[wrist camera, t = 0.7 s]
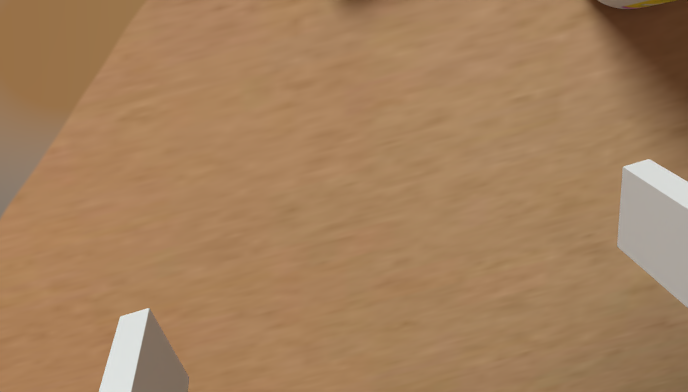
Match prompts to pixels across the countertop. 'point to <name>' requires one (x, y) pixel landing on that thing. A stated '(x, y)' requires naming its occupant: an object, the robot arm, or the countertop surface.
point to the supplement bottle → (633, 3)
